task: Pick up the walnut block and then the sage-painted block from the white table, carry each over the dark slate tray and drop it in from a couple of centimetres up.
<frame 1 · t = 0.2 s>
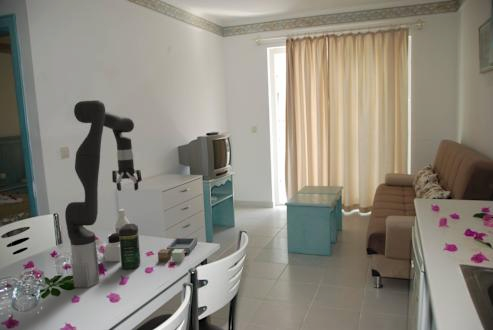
hand: (127, 190, 200), 29 cm above the table, fingers open, 8 cm apart
bath foam: (124, 248, 200), on the table
coffee jar: (131, 266, 177), on the table
sage block: (178, 260, 181), on the table
tray: (182, 248, 196), on the table
walnut block: (164, 260, 182), on the table
medicine bottle: (116, 259, 186), on the table
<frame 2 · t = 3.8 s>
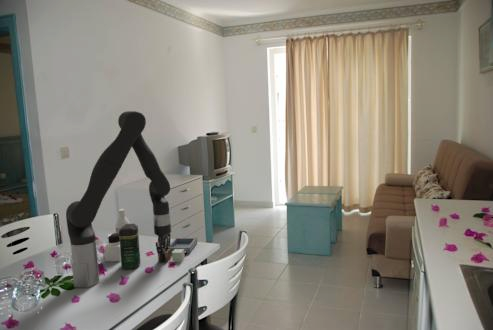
hand: (164, 259, 182), 0 cm above the table, fingers closed on walnut block, 4 cm apart
walnut block: (164, 260, 182), on the table, touching gripper
everything else where it was.
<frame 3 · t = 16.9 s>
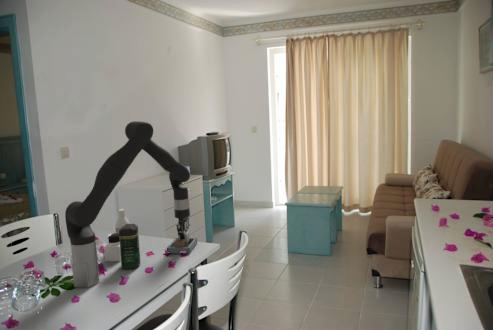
hand: (184, 240, 199), 3 cm above the table, fingers closed on sage block, 4 cm apart
sage block: (184, 241, 199), point 3 cm above the table, touching gripper
walnut block: (180, 249, 193), point 1 cm above the table, touching gripper, tray
everything else where it was.
when the fingers open (3 cm above the table, at t = 17.2 s): sage block drops 2 cm, resting on tray.
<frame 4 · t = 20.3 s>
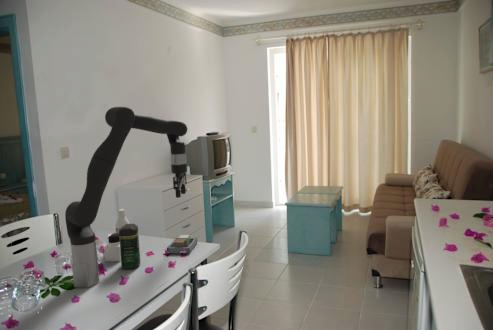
hand: (180, 195, 196), 26 cm above the table, fingers open, 8 cm apart
sage block: (184, 245, 200), point 1 cm above the table, touching tray
walnut block: (180, 249, 193), point 1 cm above the table, touching tray
everything else where it was.
at the end: walnut block inside the target area on the tray (3.1 cm from its centre), point 0.6 cm above the tray's base; sage block inside the target area on the tray (3.4 cm from its centre), point 0.6 cm above the tray's base; the gripper is holding nothing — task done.
